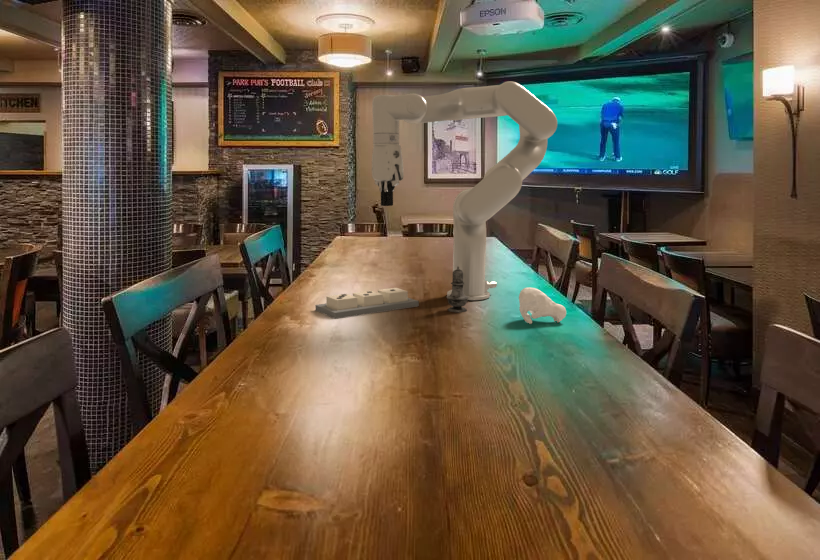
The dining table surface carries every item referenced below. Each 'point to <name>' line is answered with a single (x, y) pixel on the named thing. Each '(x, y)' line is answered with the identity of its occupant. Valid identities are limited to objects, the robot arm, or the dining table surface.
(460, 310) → the grey turned candlestick
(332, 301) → the tile three
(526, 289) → the cream animal figurine
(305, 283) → the dining table surface
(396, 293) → the tile one
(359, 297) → the tile two
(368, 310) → the board
